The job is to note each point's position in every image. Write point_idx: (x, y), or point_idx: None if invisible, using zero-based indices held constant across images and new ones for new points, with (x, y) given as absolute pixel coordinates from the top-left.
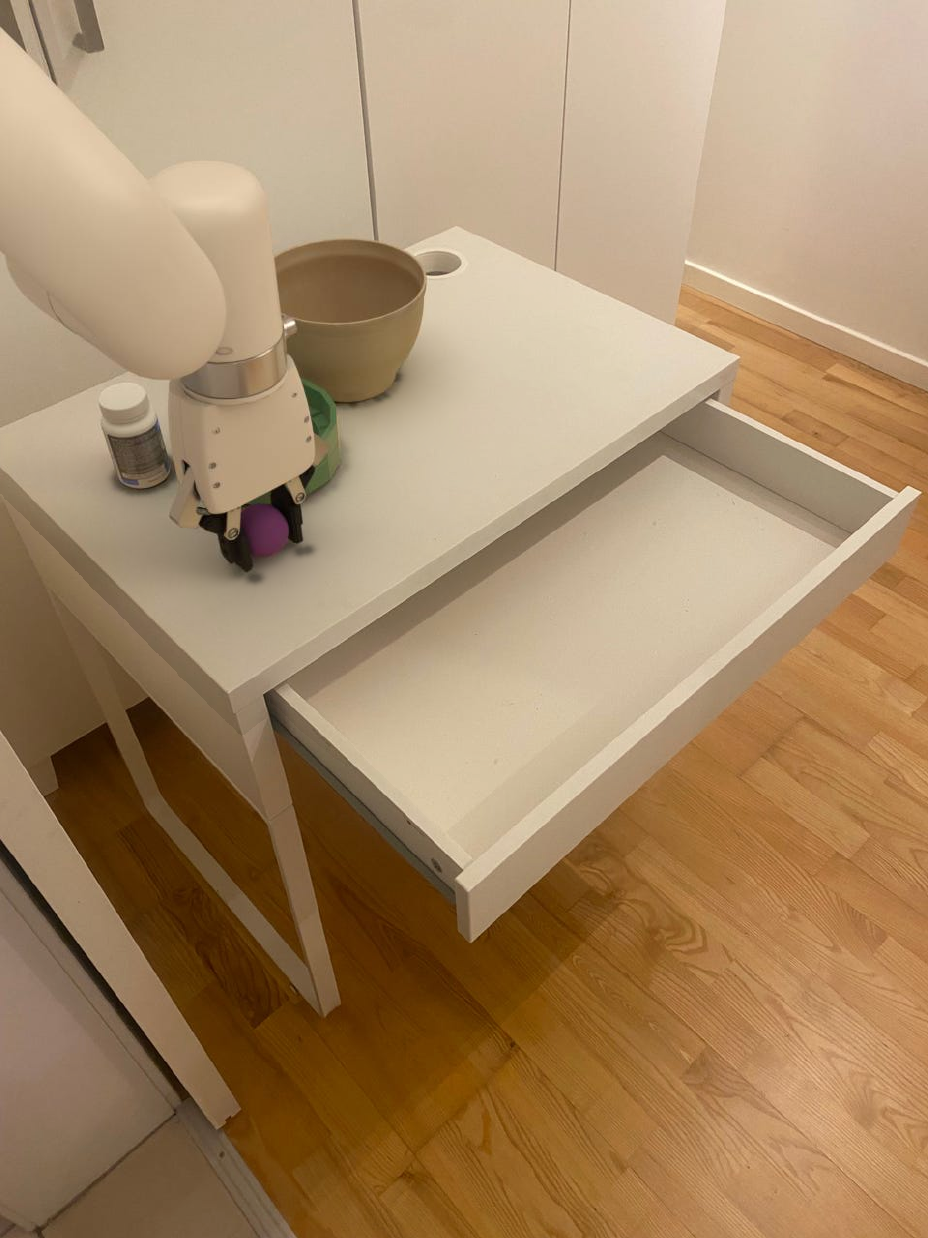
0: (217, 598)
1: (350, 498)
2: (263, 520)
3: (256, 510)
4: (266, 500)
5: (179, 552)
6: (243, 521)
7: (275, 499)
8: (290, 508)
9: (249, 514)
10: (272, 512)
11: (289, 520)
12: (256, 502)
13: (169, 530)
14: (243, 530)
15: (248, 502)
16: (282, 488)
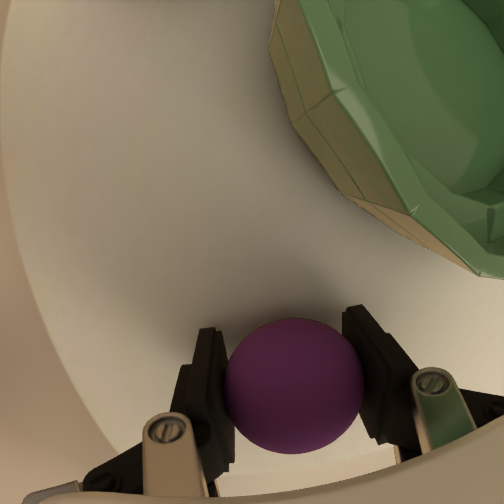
0: (152, 380)
1: (481, 279)
2: (296, 453)
3: (302, 437)
4: (378, 217)
5: (121, 231)
6: (251, 428)
7: (378, 391)
8: (377, 434)
9: (276, 436)
10: (334, 438)
11: (360, 407)
12: (356, 203)
13: (128, 145)
14: (239, 429)
15: (339, 190)
16: (410, 424)
